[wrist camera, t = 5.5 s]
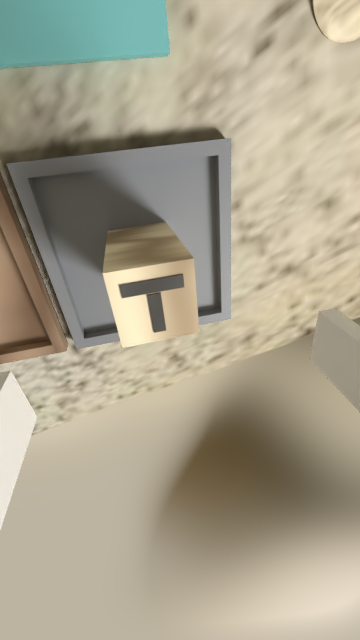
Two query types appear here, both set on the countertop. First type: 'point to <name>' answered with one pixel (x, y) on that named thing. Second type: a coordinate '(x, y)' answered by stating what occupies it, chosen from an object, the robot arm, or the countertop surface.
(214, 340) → the countertop surface
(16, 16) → the teal mat
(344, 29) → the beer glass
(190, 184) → the grey tray
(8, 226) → the walnut tray
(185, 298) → the letter block
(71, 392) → the countertop surface
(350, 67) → the countertop surface
